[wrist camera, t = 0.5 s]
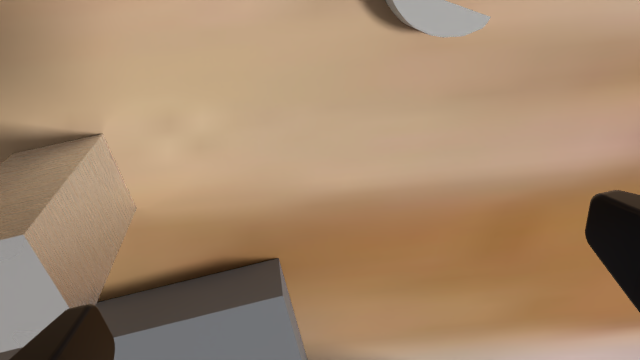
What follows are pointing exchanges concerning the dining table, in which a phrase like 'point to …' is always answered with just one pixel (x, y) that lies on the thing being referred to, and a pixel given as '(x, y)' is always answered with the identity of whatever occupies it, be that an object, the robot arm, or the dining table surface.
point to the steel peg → (57, 232)
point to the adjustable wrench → (438, 17)
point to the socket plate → (207, 319)
